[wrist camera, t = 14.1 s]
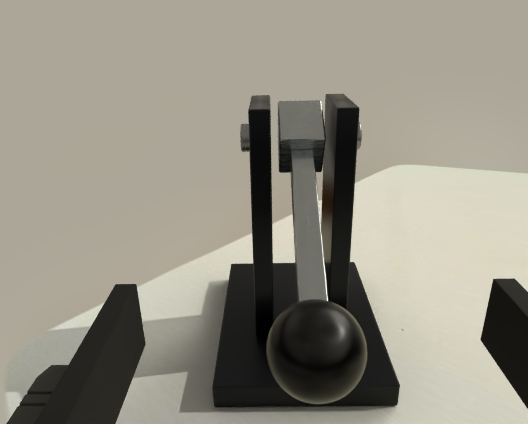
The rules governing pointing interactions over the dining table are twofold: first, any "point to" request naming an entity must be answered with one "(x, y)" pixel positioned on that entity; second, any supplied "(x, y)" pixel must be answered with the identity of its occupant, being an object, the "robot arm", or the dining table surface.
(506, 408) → the dining table surface
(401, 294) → the dining table surface
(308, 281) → the control lever
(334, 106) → the bracket
